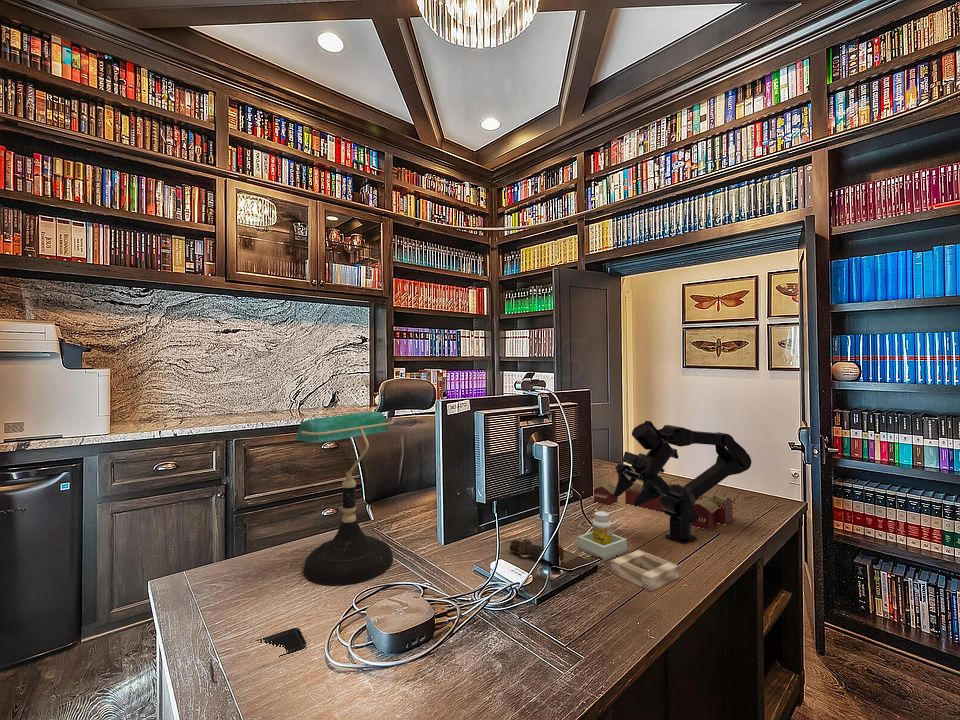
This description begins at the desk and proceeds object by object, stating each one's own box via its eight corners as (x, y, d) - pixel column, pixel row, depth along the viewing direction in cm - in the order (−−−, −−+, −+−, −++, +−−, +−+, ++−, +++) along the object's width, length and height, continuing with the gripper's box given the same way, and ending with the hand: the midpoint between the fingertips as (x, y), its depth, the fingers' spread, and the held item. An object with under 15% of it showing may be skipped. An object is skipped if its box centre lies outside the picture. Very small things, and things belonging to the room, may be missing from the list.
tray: (600, 540, 131) (600, 529, 131) (627, 551, 123) (627, 539, 123) (577, 548, 126) (577, 536, 126) (604, 560, 118) (604, 547, 118)
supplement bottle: (616, 547, 124) (615, 513, 124) (605, 553, 120) (604, 518, 121) (599, 542, 128) (599, 509, 128) (589, 547, 125) (588, 513, 125)
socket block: (639, 560, 117) (639, 549, 117) (679, 577, 108) (678, 565, 108) (611, 572, 111) (611, 560, 111) (651, 591, 101) (650, 578, 101)
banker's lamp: (360, 538, 134) (360, 408, 135) (415, 557, 121) (414, 412, 122) (278, 572, 113) (278, 417, 113) (334, 599, 99) (333, 423, 100)
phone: (307, 646, 82) (214, 679, 73) (307, 652, 82) (214, 686, 73) (298, 626, 88) (211, 654, 80) (298, 631, 88) (211, 660, 80)
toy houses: (735, 518, 150) (734, 488, 150) (716, 535, 135) (715, 502, 135) (613, 492, 181) (613, 468, 181) (587, 504, 167) (587, 477, 167)
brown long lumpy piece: (513, 558, 124) (561, 570, 115) (504, 554, 121) (553, 567, 112) (518, 536, 127) (565, 547, 118) (509, 532, 123) (557, 543, 114)
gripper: (619, 437, 137) (589, 475, 134) (660, 447, 119) (626, 492, 116) (641, 460, 140) (612, 498, 136) (684, 473, 122) (652, 518, 118)
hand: (624, 500), depth 127 cm, fingers open, 9 cm apart
